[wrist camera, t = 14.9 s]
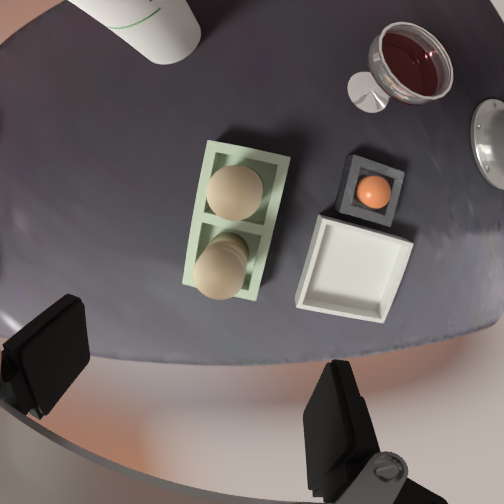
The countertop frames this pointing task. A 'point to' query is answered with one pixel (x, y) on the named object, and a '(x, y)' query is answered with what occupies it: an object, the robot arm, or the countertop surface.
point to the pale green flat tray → (250, 229)
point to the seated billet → (234, 192)
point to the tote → (352, 270)
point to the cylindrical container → (149, 25)
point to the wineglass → (402, 69)
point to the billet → (222, 266)
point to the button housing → (346, 195)
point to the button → (372, 191)
